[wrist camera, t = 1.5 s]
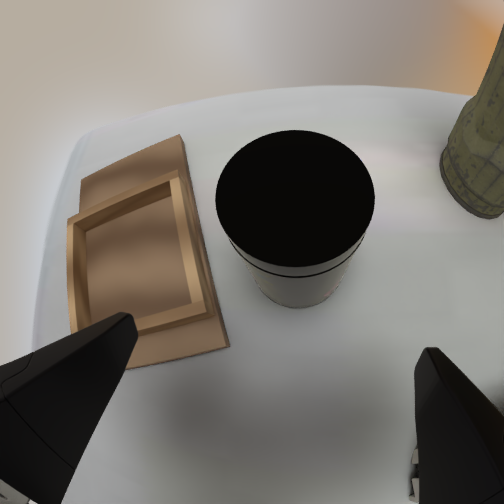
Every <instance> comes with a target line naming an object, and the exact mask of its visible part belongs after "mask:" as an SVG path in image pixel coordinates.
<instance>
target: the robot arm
mask: <svg viewBox="0 0 504 504" xmlns="http://www.w3.org/2000/svg"><path fill="white" fill-rule="evenodd" d="M137 340H138V330H137V327H136V324H135V321H134V317H133V316H132V314H130V313H126V312H118V313H116V314H114V315H112V316H110V317H107V318H105V319H103V320H101V321H99V322H97V323H94V324H92V325H90V326H88V327H86V328H84V329H82V330H79V331H77V332H75V333H73V334H71V335H69V336H66V337H64V338H62V339H60V340H58V341H56V342H54V343H51V344H49V345H47V346H45V347H43V348H41V349H38V350H36V351H35V352H32V353H30V354H28V355H26V356H24V357H21V358H19V359H16V360H14V361H12V362H9V363H7V364H4V365H1V366H0V504H29V503H28V502H29V501H30V499H31V500H32V501H34V502H36V503H37V504H61V502H62V500H63V498H64V495H65V493H66V491H67V488H68V486H69V484H70V482H71V479H72V477H73V475H74V473H75V470H76V468H77V466H78V464H79V462H80V459H81V457H82V455H83V453H84V451H85V449H86V447H87V445H88V443H89V440H90V438H91V436H92V434H93V432H94V430H95V428H96V426H97V424H98V422H99V420H100V418H101V416H102V414H103V412H104V410H105V408H106V407H107V405H108V403H109V401H110V399H111V397H112V395H113V393H114V391H115V389H116V387H117V385H118V384H119V382H120V380H121V378H122V376H123V373H124V371H125V369H126V366H127V364H128V361H129V359H130V357H131V354H132V352H133V349H134V347H135V345H136V342H137ZM414 381H415V422H416V433H417V446H418V465H419V504H504V416H503V415H502V414H501V413H500V411H499V410H498V409H497V408H496V407H495V406H494V405H493V404H492V403H491V402H490V401H489V399H488V398H487V397H486V396H485V395H484V394H483V393H482V392H481V391H480V390H479V389H478V388H477V387H476V386H475V385H474V384H473V382H472V381H471V380H470V379H469V378H468V377H467V376H466V375H465V374H464V373H463V372H462V371H461V370H460V369H459V368H458V367H457V366H456V365H455V364H454V363H453V362H452V361H451V360H450V359H449V358H448V357H447V356H446V355H445V354H444V353H443V352H442V351H441V350H440V349H439V348H437V347H426V348H425V349H424V350H423V352H422V354H421V356H420V358H419V360H418V362H417V364H416V367H415V371H414Z"/></svg>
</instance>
